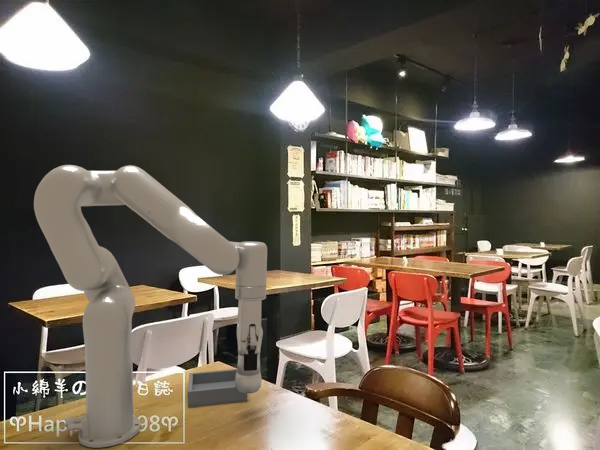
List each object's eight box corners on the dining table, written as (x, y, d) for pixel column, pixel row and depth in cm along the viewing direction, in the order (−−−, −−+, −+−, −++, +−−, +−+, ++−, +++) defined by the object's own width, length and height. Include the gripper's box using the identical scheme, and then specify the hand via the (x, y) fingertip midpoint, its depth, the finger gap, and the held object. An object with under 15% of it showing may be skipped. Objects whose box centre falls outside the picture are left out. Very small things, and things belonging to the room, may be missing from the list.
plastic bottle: (250, 383, 105) (252, 306, 105) (266, 392, 100) (269, 311, 100) (229, 390, 101) (231, 309, 101) (245, 399, 96) (247, 314, 96)
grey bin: (188, 407, 104) (187, 391, 104) (189, 387, 116) (189, 373, 116) (247, 401, 107) (247, 385, 107) (242, 381, 120) (242, 368, 120)
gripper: (232, 286, 108) (230, 355, 108) (238, 299, 91) (236, 380, 91) (260, 286, 110) (259, 353, 110) (271, 298, 93) (269, 377, 93)
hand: (248, 364), depth 101 cm, fingers closed on plastic bottle, 5 cm apart
